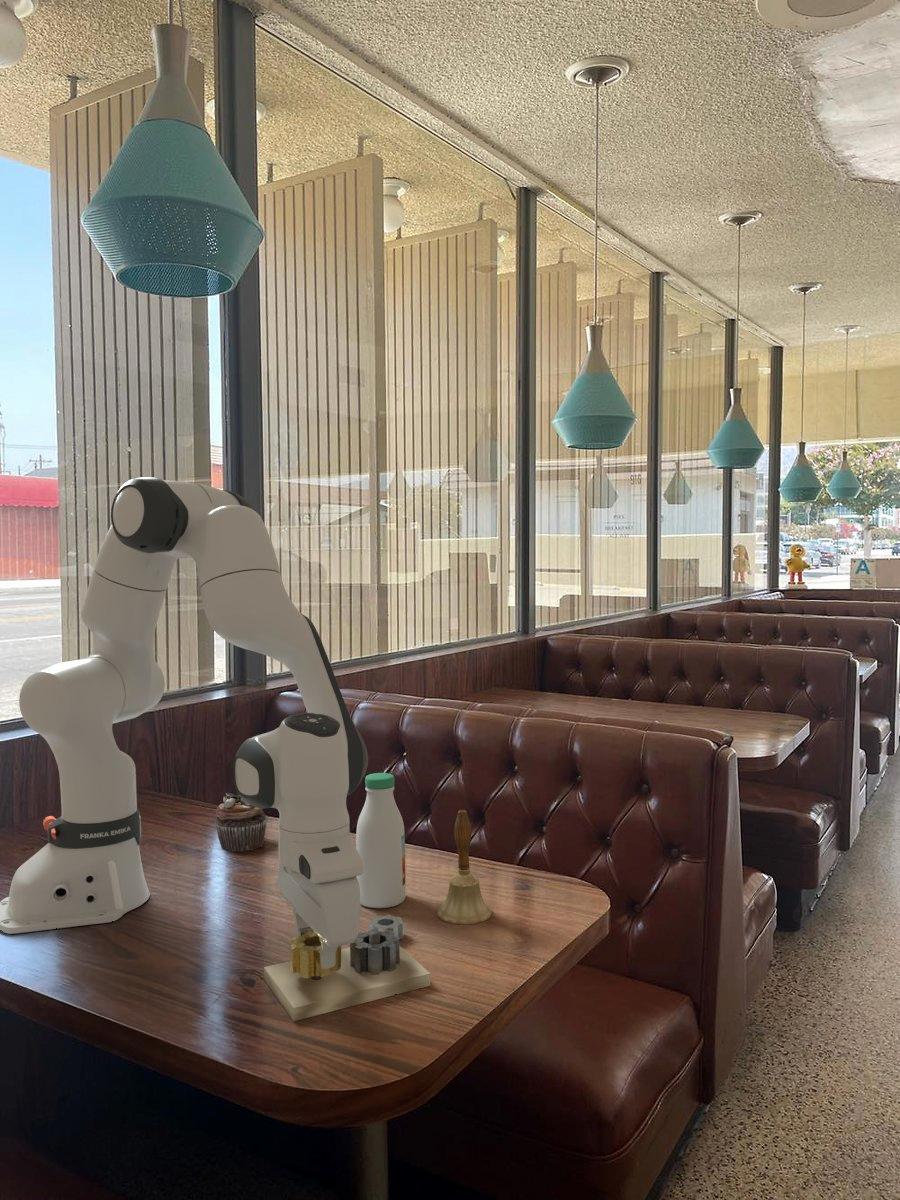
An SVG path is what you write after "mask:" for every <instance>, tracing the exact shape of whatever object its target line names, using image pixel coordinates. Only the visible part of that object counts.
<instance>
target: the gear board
mask: <svg viewBox="0 0 900 1200" xmlns="http://www.w3.org/2000/svg"><path fill="white" fill-rule="evenodd" d="M369 944H380V932H378V931H372V932H370V933H369ZM311 946H312V947H317V946H321V945H320V944H313V945H311ZM263 978H264V981H265V982H266V984H267V985H268V986H269V988H270V990H271V991H272V992H273V994H274V995H275V997H276V998H277V1000H278V1001H279V1002H280V1004H281V1005H282V1006H283V1008H284V1009H285V1011H286V1013H287V1014H288V1015H289V1017H290V1018H291V1020H292V1021H293V1022H297V1021H300V1020H304V1019H308V1018H312V1017H315V1016H316V1017H317V1016H321V1015H323V1014H327V1013H331V1012H334V1011H339V1010H343V1009H347V1008H349V1007H355V1006H358V1005H361V1004H365V1003H369V1002H373V1001H376V1000H380V999H385V998H388V997H392V996H396V995H395V994H397V995H400V994H404V993H408V992H411V991H416V990H419V988H420V989H423V988H427V987H430V986H431V972H429V971H428V970H427V969H426V968H425V967H424V966H423V965H422V964H421V963H419V961H417V960H416V959H414V957H413V956H411V955H410V954H409V953H408V952H407V951H406V950H405V949H404V948H403V947H401V946H400V964H396V969H395V970H393V971H391V972H390V971H382V972H379V975H371V973H368V972H362V973H358V972H356V971H355V966H350V947H345V948H341V968H340V969H339V970H338V971H333V972H330V973H329V976H326V977H320V976H316V975H315V976H310V977H309V978H304V977H301V974H300V973H299V974H298V972H297V973H292V972H291V970H290V961H285V962H281V963H275V964H272V965H268V966H264V967H263Z"/></svg>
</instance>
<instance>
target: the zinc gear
mask: <svg viewBox="0 0 900 1200" xmlns="http://www.w3.org/2000/svg"><path fill="white" fill-rule="evenodd" d="M392 915H393V914H386V915H385V916H379V915H378V916H374V917H373V919H372V920H371V919H370V920H368V922H367V932H368V931H371V929H378V931H381V932H382V931H385V932H386V931H388V930H390V931H392V932H394V935H395V937H398V936H399V940H403V939H404V935H405V934H404V932H405V931H404V930H405V929H404V928H405V927H404V926H405V925H404V923H405V922H404V921H402V920H403V919H402V918H401V917H400V916H397V917H396V916H392Z"/></svg>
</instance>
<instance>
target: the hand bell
mask: <svg viewBox="0 0 900 1200" xmlns="http://www.w3.org/2000/svg"><path fill="white" fill-rule="evenodd" d="M454 841H455V843H456V844H455V845H456V847H457V851H458V852H457V853H458V859H457V860H458V863H457V864H458V866H457V867H458V873H457V874H455V875H453V876H451V878H450V879H449V885H448V891H447V892H448V893H447V895H446V899H445V901H444V902H443V903H442V904H441V905H440V906H439V907H438V910H437V913H436V914H437V916H438V918H439V919H441V920H442V921H444V922H446V923H449V924H454V925H474V924H479V923H483V922H484V921H485V922H486V920H488V919H490V917H492V913H493V911H492V909H491V907H490V906H489V905H488V904H487V903H486V902H485V900H484V898H483V895H482V892H481V888H480V879H479V878H478V877H477V876H476V875H474V874H472V873H471V869H470V856H469V855H470V854H469V851H470V850H469V849H470V846H471V843H472V825H471V821H470V818H469V816H468V812H467V810H466V809H459V810H458V811H457V816H456V819H455V823H454Z"/></svg>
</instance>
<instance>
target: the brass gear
mask: <svg viewBox="0 0 900 1200" xmlns="http://www.w3.org/2000/svg"><path fill="white" fill-rule="evenodd" d="M313 944H320V945H321V942H320V940H319V936H318V935H317V934H316V933H315V932H314V933H312V932H311V931H309V932H305V933H304V935H302V936H300V937H297V936H294V937H292V938H291V939H290V945H289V960H290V970H291V972H292V973H297V972H298V974H299V973H300V974H301V977H304V978H309V977H310V976H315V975H316V976H320V977H326V976H329V973H330V972H333V971H338V970H339V969H340V968H341V949H342V946H338V948H337V950H336V953H335V961H336V963H335V965H334V967H331V968H327V969H323V968H322V967H321V966H320V964H319V963H318V951H319V950H320V947H321V946H317V947H312V946H311V945H313Z"/></svg>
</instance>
